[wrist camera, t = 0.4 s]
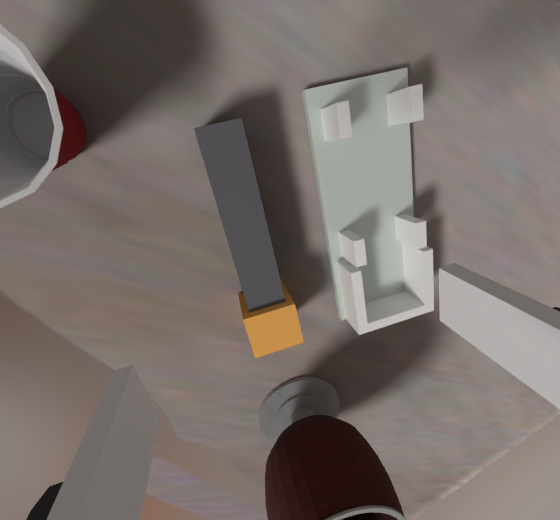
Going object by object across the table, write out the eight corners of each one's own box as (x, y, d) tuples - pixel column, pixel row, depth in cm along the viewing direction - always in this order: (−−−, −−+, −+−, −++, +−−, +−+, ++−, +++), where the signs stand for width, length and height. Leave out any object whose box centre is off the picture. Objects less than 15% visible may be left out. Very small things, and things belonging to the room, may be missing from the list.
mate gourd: (350, 368, 43) (453, 528, 25) (336, 439, 48) (414, 620, 29) (243, 376, 40) (270, 571, 21) (239, 452, 44) (259, 667, 26)
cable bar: (189, 133, 29) (183, 129, 23) (244, 121, 29) (251, 114, 24) (248, 327, 37) (255, 358, 32) (290, 314, 38) (303, 342, 32)
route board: (301, 91, 29) (318, 80, 25) (401, 69, 31) (434, 55, 26) (338, 316, 40) (355, 338, 35) (412, 293, 41) (438, 311, 36)
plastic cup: (145, 141, 28) (102, 134, 17) (58, 211, 28) (-40, 249, 17) (44, 23, 24) (-103, -90, 13) (-57, 107, 24) (-284, 69, 13)
